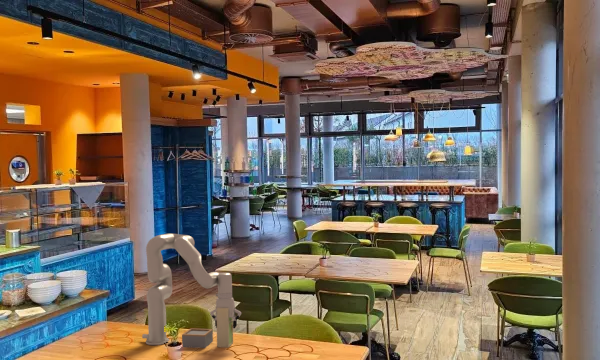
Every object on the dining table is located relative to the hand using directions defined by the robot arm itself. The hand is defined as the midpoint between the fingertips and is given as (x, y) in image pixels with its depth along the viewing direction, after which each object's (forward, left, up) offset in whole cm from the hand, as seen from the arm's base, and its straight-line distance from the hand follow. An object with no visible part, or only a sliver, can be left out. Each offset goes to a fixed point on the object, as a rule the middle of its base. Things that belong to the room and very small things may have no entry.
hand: (226, 327), depth 280 cm
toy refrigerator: (0, 0, -10) cm, 10 cm away
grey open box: (-16, 0, -10) cm, 19 cm away
